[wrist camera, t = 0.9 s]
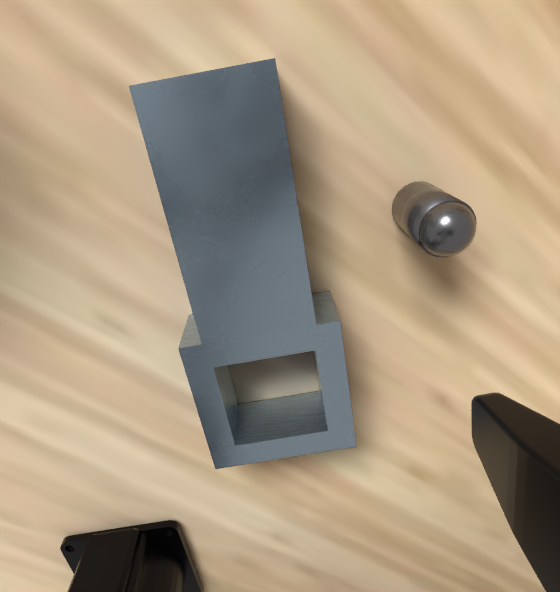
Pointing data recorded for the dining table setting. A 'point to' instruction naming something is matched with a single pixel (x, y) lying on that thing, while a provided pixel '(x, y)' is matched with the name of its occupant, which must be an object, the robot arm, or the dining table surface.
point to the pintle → (434, 219)
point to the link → (243, 261)
